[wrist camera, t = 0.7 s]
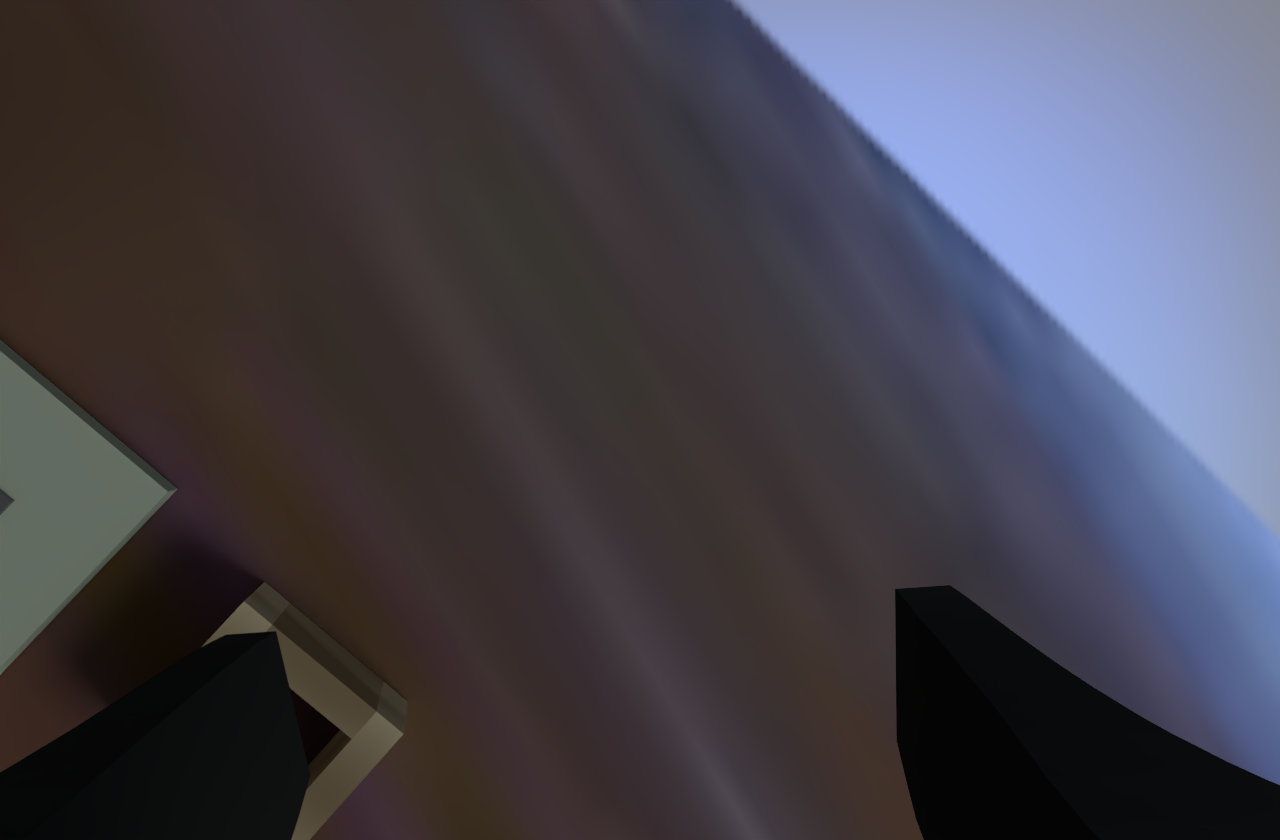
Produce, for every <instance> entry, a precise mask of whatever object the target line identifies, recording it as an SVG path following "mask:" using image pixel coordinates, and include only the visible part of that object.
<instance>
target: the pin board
mask: <svg viewBox="0 0 1280 840" xmlns="http://www.w3.org/2000/svg"><path fill="white" fill-rule="evenodd" d="M176 490H177V488H176V487H175V486H174V485H172V484H171V483H170V482H169V481H168V480H166V479H165V478H164V477H163V476H162V475H160V474H159V473H158V472H157V471H156V470H155V469H153V468H152V467H151V466H150V465H149V464H147V463H146V462H145V461H144V460H143V459H141V458H140V457H139V456H138V455H137V454H136V453H134V452H133V451H132V450H131V449H130V448H128V447H127V446H126V445H125V444H124V443H122V442H121V441H120V440H119V439H118V438H117V437H115V436H114V435H113V434H112V433H111V432H109V431H108V430H107V429H106V428H105V427H103V426H102V425H101V424H100V423H99V422H97V421H96V420H95V419H94V418H93V417H92V416H90V415H89V414H88V413H87V412H86V411H84V410H83V409H82V408H81V407H80V406H78V405H77V404H76V403H75V402H74V401H73V400H71V399H70V398H69V397H68V396H67V395H65V394H64V393H63V392H62V391H61V390H59V389H58V388H57V387H56V386H55V385H54V384H52V383H51V382H50V381H49V380H48V379H46V378H45V377H44V376H43V375H42V374H40V373H39V372H38V371H37V370H36V369H34V368H33V367H32V366H31V365H30V364H29V363H27V362H26V361H25V360H24V359H23V358H21V357H20V356H19V355H18V354H17V353H15V352H14V351H13V350H12V349H11V348H10V347H8V346H7V345H6V344H5V343H4V342H2V341H1V340H0V674H1V673H2V672H3V671H4V670H5V669H6V668H7V667H8V666H9V665H10V664H11V663H12V662H13V661H14V660H15V659H16V658H17V657H18V656H19V655H20V654H21V653H22V651H23V650H24V649H25V648H26V647H27V646H28V645H29V644H30V643H31V642H32V641H33V640H34V639H35V638H36V637H37V636H38V635H39V634H40V633H41V632H42V631H43V629H44V628H45V627H46V626H47V625H48V624H49V623H50V622H51V621H52V620H53V619H54V618H55V617H56V616H57V615H58V614H59V613H60V612H61V611H62V610H63V609H64V608H65V606H66V605H67V604H68V603H69V602H70V601H71V600H72V599H73V598H74V597H75V596H76V595H77V594H78V593H79V592H80V591H81V590H82V589H83V588H84V587H85V586H86V584H87V583H88V582H89V581H90V580H91V579H92V578H93V577H94V576H95V575H96V574H97V573H98V572H99V571H100V570H101V569H102V568H103V567H104V566H105V565H106V564H107V562H108V561H109V560H110V559H111V558H112V557H113V556H114V555H115V554H116V553H117V552H118V551H119V550H120V549H121V548H122V547H123V546H124V545H125V544H126V543H127V542H128V541H129V539H130V538H131V537H132V536H133V535H134V534H135V533H136V532H137V531H138V530H139V529H140V528H141V527H142V526H143V525H144V524H145V523H146V522H147V521H148V520H149V519H150V517H151V516H152V515H153V514H154V513H155V512H156V511H157V510H158V509H159V508H160V507H161V506H162V505H163V504H164V503H165V502H166V501H167V500H168V499H169V498H170V497H171V496H172V494H173V493H174V492H175V491H176Z"/></svg>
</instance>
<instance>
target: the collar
mask: <svg viewBox="0 0 1280 840" xmlns="http://www.w3.org/2000/svg"><path fill="white" fill-rule="evenodd" d="M272 631H276V632H277V637H278V641H279V645H280V649H281V654H282V658H283V662H284V666H285V671H286V675H287V679H288V683H289V687H290V689H292V690H293V691H294V692H295V693H296V694H298V695H299V696H300V697H301V698H303V699H304V700H305V701H306V702H307V703H309V704H310V705H311V706H312V707H313V708H315V709H316V710H317V711H318V712H320V713H321V714H322V715H323V716H324V717H326V718H327V719H328V720H329V721H330V722H332V723H333V724H334V725H335V726H337V727H338V728H339V729H340V730H339V732H338V733H337V734H336V735H335V736H334V737H333V738H332V739H331V740H330V742H329V743H328V744H327V745H326V746H325V747H324V748H323V749H322V750H321V752H320V753H319V754H318V755H317V756H316V757H315V758H314V759H313V760H312V762H311V763H310V764H309V765H308V768H309V772H310V779H309V783H308V786H307V790H306V793H305V797H304V800H303V804H302V807H301V811H300V814H299V818H298V821H297V824H296V827H295V830H294V833H293V836H292V839H291V840H310V839H311V837H312V836H313V835H314V834H315V833H316V832H317V831H318V830H319V828H320V827H321V826H322V825H323V824H324V823H325V822H326V821H327V819H328V818H329V817H330V816H331V815H332V814H333V813H334V812H335V810H336V809H337V808H338V807H339V806H340V805H341V804H342V803H343V801H344V800H345V799H346V798H347V797H348V796H349V795H350V794H351V792H352V791H353V790H354V789H355V788H356V787H357V786H358V785H359V783H360V782H361V781H362V780H363V779H364V778H365V777H366V776H367V774H368V773H369V772H370V771H371V770H372V769H373V768H374V767H375V765H376V764H377V763H378V762H379V761H380V760H381V759H382V758H383V756H384V755H385V754H386V753H387V752H388V751H389V750H390V749H391V747H392V746H393V745H394V744H395V743H396V742H397V741H398V740H399V738H400V737H401V736H402V735H403V734H404V727H405V719H406V712H407V704H408V701H406V700H405V699H404V698H403V697H402V696H400V695H399V694H398V693H397V692H396V691H395V690H393V689H392V688H391V687H390V686H389V685H387V684H386V683H385V682H384V681H383V680H381V679H380V678H379V677H378V676H377V675H375V674H374V673H373V672H372V671H371V670H369V669H368V668H367V667H366V666H365V665H364V664H362V663H361V662H360V661H359V660H358V659H356V658H355V657H354V656H353V655H352V654H350V653H349V652H348V651H347V650H346V649H344V648H343V647H342V646H341V645H340V644H338V643H337V642H336V641H335V640H334V639H332V638H331V637H330V636H329V635H328V634H327V633H325V632H324V631H323V630H322V629H321V628H319V627H318V626H317V625H316V624H315V623H313V622H312V621H311V620H310V619H309V618H307V617H306V616H305V615H304V614H303V613H301V612H300V611H299V610H298V609H297V608H295V607H294V606H293V605H292V604H291V603H290V602H288V601H287V600H286V599H285V598H284V597H282V596H281V595H280V594H279V593H278V592H276V591H275V590H274V589H273V588H272V587H270V586H269V585H268V584H267V583H266V582H264V583H263V584H262V585H261V586H260V587H259V588H258V589H257V590H255V591H254V592H253V593H252V594H251V595H250V596H249V597H248V598H247V599H246V600H245V601H244V602H243V603H242V604H241V605H240V606H239V607H238V608H237V609H236V610H235V611H234V612H233V614H232V615H231V616H230V617H229V618H228V619H227V620H226V621H225V622H224V623H223V624H222V625H221V626H220V628H219V629H218V630H217V631H216V632H215V633H214V634H213V635H212V636H211V637H210V638H209V639H208V640H207V642H206V643H205V644H204V645H203V646H205V645H206V644H208V643H210V642H212V641H214V640H216V639H218V638H220V637H222V636H224V635H228V634H242V633H257V632H272ZM203 646H202V647H203Z"/></svg>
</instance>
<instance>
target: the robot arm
mask: <svg viewBox="0 0 1280 840" xmlns="http://www.w3.org/2000/svg"><path fill="white" fill-rule="evenodd" d="M895 606H896V707H897V743H898V747H899V752H900V756H901V760H902V764H903V768H904V773H905V777H906V781H907V785H908V789H909V793H910V797H911V801H912V804H913V808H914V812H915V816H916V820H917V822H918V825H919V828H920V830H921V833H922V836H923V838H924V840H1280V785H1278V784H1275V783H1273V782H1270V781H1268V780H1266V779H1263V778H1261V777H1259V776H1257V775H1255V774H1252V773H1250V772H1248V771H1246V770H1244V769H1242V768H1239V767H1237V766H1235V765H1233V764H1231V763H1229V762H1226V761H1224V760H1223V759H1221V758H1219V757H1217V756H1215V755H1213V754H1211V753H1209V752H1207V751H1205V750H1203V749H1201V748H1199V747H1197V746H1195V745H1193V744H1191V743H1189V742H1187V741H1185V740H1183V739H1181V738H1179V737H1177V736H1175V735H1173V734H1171V733H1169V732H1168V731H1166V730H1164V729H1162V728H1160V727H1159V726H1157V725H1155V724H1153V723H1152V722H1150V721H1148V720H1146V719H1144V718H1143V717H1141V716H1139V715H1138V714H1136V713H1134V712H1133V711H1131V710H1129V709H1128V708H1126V707H1124V706H1123V705H1121V704H1120V703H1118V702H1116V701H1115V700H1113V699H1111V698H1110V697H1108V696H1106V695H1105V694H1103V693H1102V692H1100V691H1098V690H1097V689H1095V688H1093V687H1092V686H1090V685H1089V684H1087V683H1086V682H1084V681H1083V680H1081V679H1080V678H1078V677H1077V676H1075V675H1074V674H1072V673H1071V672H1069V671H1068V670H1066V669H1065V668H1063V667H1062V666H1060V665H1059V664H1057V663H1056V662H1054V661H1053V660H1052V659H1050V658H1049V657H1047V656H1046V655H1045V654H1043V653H1042V652H1040V651H1039V650H1037V649H1036V648H1035V647H1033V646H1032V645H1030V644H1029V643H1028V642H1026V641H1025V640H1024V639H1022V638H1021V637H1019V636H1018V635H1017V634H1015V633H1014V632H1013V631H1011V630H1010V629H1009V628H1007V627H1006V626H1005V625H1003V624H1002V623H1001V622H999V621H998V620H997V619H995V618H994V617H993V616H991V615H990V614H989V613H987V612H986V611H985V610H983V609H982V608H981V607H979V606H978V605H977V604H975V603H974V602H973V601H971V600H970V599H969V598H967V597H966V596H964V595H963V594H962V593H960V592H959V591H957V590H956V589H954V588H953V587H951V586H950V585H948V586H933V587H919V588H904V589H895ZM309 779H310V772H309V768H308V763H307V759H306V755H305V751H304V747H303V742H302V738H301V734H300V730H299V725H298V721H297V717H296V713H295V709H294V704H293V700H292V696H291V692H290V687H289V683H288V679H287V675H286V671H285V666H284V662H283V658H282V654H281V649H280V645H279V641H278V637H277V632H276V631H272V632H257V633H242V634H228V635H224V636H222V637H220V638H218V639H216V640H214V641H212V642H210V643H208V644H206V645H205V646H203V647H201V648H199V649H198V650H196V651H194V652H193V653H191V654H189V655H188V656H186V657H184V658H183V659H181V660H179V661H178V662H176V663H175V664H173V665H172V666H170V667H168V668H167V669H165V670H164V671H162V672H161V673H159V674H157V675H156V676H154V677H153V678H151V679H150V680H148V681H147V682H145V683H144V684H142V685H140V686H139V687H137V688H136V689H134V690H133V691H131V692H130V693H128V694H126V695H125V696H123V697H122V698H120V699H119V700H117V701H116V702H114V703H113V704H111V705H109V706H108V707H106V708H105V709H103V710H102V711H100V712H99V713H97V714H96V715H94V716H92V717H91V718H89V719H88V720H86V721H85V722H83V723H82V724H80V725H78V726H77V727H75V728H74V729H72V730H70V731H69V732H67V733H65V734H64V735H62V736H60V737H59V738H57V739H55V740H54V741H52V742H50V743H49V744H47V745H45V746H44V747H42V748H40V749H39V750H37V751H36V752H34V753H32V754H31V755H29V756H27V757H26V758H24V759H22V760H21V761H19V762H17V763H16V764H14V765H12V766H11V767H9V768H7V769H6V770H4V771H2V772H1V773H0V840H291V839H292V836H293V833H294V830H295V827H296V824H297V821H298V818H299V814H300V811H301V807H302V804H303V800H304V797H305V793H306V790H307V786H308V783H309Z"/></svg>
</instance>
